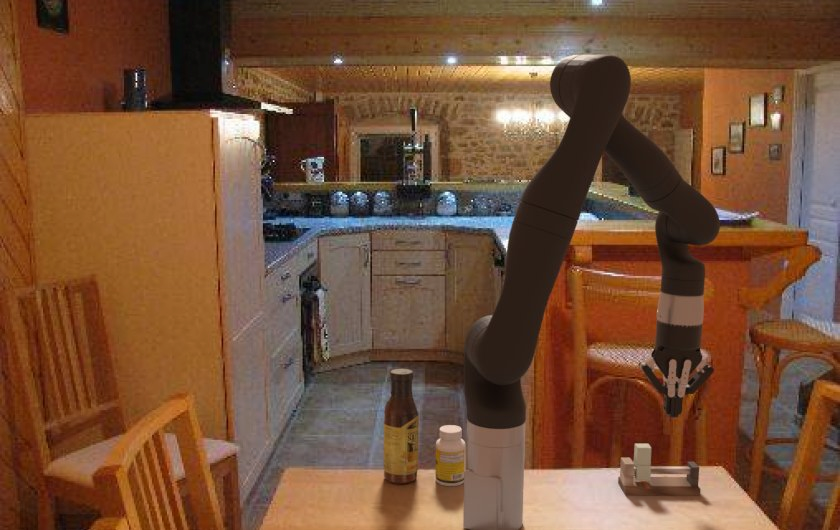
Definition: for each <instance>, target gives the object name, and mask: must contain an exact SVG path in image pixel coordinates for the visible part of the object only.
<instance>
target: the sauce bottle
mask: <svg viewBox="0 0 840 530" xmlns="http://www.w3.org/2000/svg"><path fill="white" fill-rule="evenodd" d="M389 378H390V387H391V388H390V397H389V399H388V400H387V402H386V403H385V406H384V411H383V412H384V421H383V476H384V479H385V480H386V481H387V482H389V483H392V484H398V485H400V484H401V485H404V484H408V483H413V482H414V481H416V479H417V477H418V471H419V424H420V423H419V421H420V419H419V418H420V417H419V415H420V414H419V411H418V408H417V405H416V403H415V400H414V396H413V379H414V373H413V370H411V369H407V368H397V369H396V368H394V369H392V370H391V371H390V377H389Z"/></svg>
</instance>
